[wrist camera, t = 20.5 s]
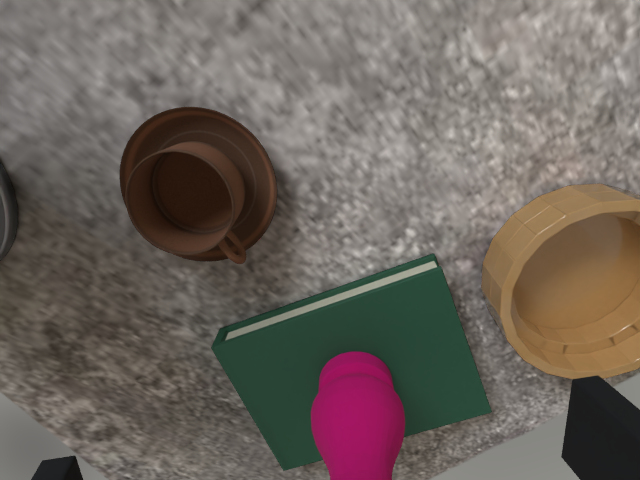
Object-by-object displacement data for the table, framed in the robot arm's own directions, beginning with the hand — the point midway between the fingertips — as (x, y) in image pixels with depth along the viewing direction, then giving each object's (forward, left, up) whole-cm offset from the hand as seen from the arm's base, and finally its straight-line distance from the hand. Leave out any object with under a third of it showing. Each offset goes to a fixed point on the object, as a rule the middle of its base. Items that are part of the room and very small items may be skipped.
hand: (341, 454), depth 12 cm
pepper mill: (-4, -15, -22) cm, 27 cm away
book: (-4, -15, -25) cm, 29 cm away
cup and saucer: (-9, +5, -25) cm, 27 cm away
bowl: (+16, -13, -25) cm, 32 cm away
